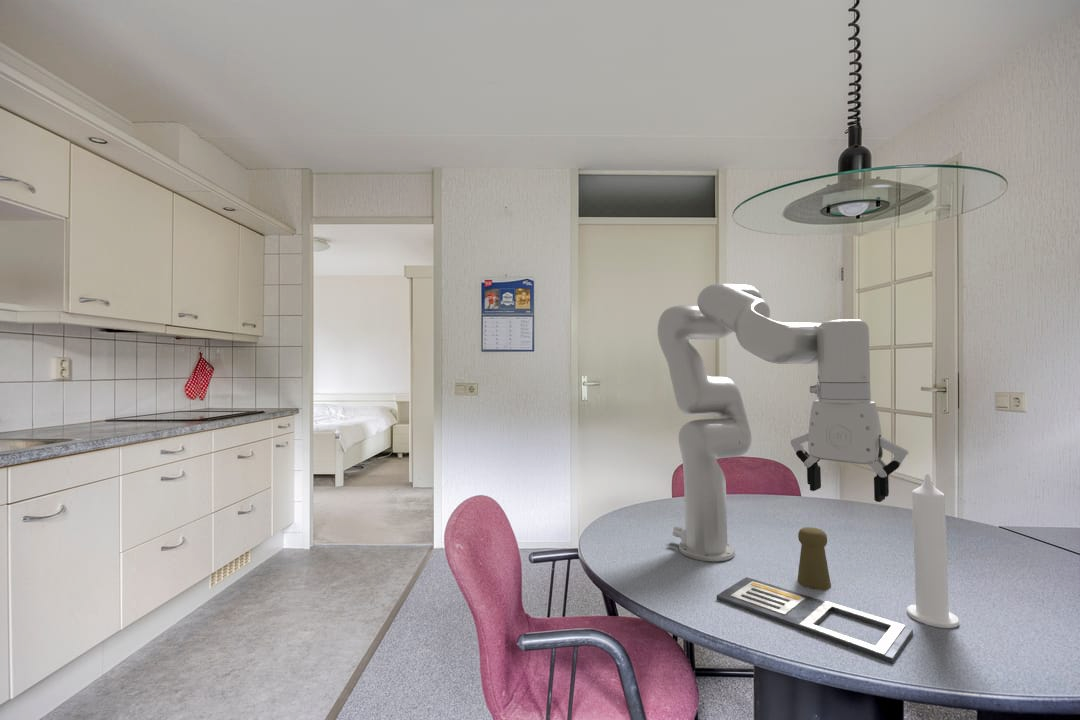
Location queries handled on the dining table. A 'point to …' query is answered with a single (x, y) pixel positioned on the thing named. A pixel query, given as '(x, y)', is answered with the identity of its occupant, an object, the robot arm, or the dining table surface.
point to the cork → (813, 559)
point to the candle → (930, 558)
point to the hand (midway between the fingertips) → (846, 494)
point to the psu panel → (814, 616)
